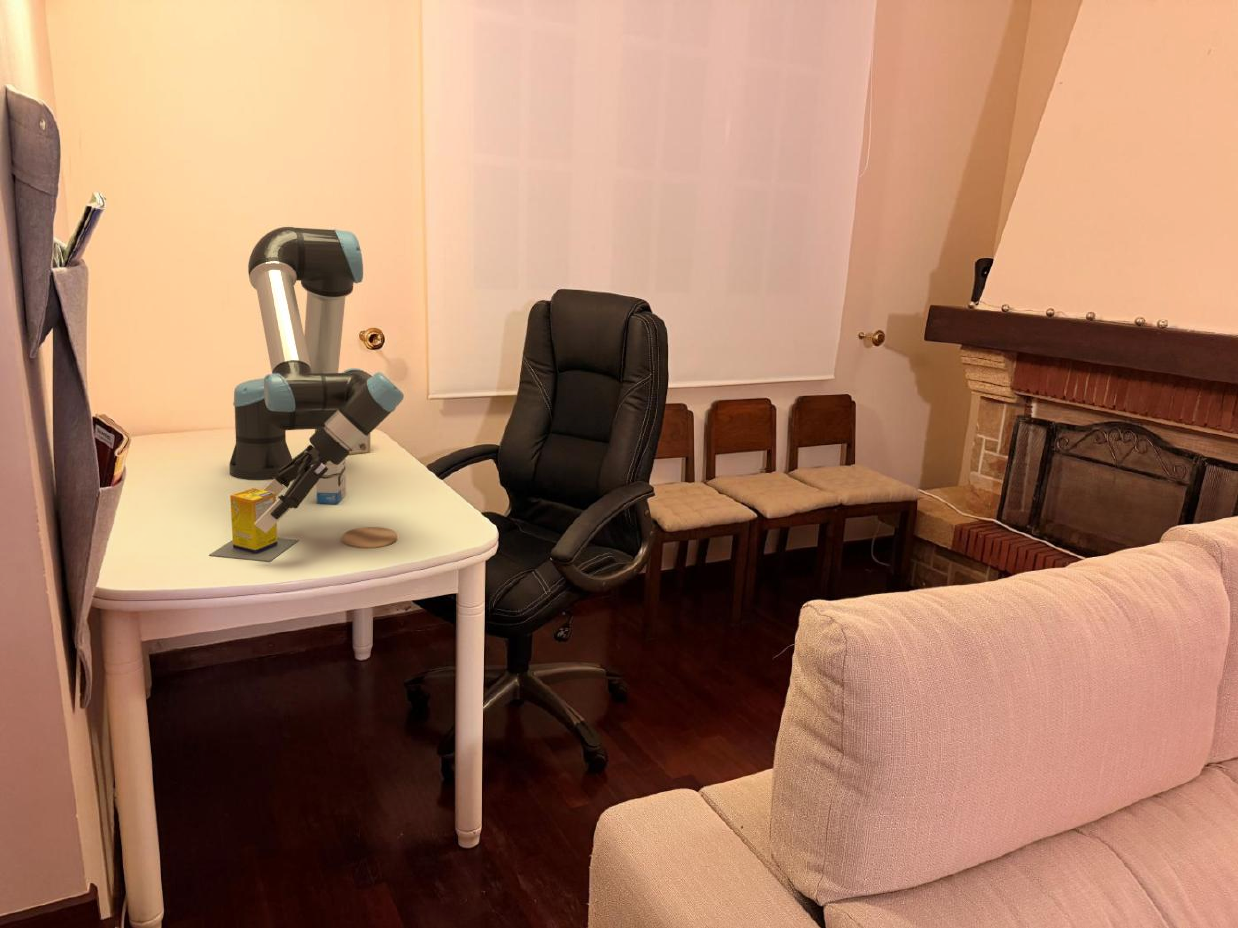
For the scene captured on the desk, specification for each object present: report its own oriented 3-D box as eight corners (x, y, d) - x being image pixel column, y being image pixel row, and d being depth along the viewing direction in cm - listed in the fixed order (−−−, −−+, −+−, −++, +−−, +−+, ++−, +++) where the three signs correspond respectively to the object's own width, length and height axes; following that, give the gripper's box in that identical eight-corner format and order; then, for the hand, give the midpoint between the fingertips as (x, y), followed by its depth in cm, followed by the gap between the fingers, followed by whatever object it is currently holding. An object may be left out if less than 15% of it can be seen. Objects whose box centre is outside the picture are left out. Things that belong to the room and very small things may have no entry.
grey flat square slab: (241, 535, 176) (241, 533, 176) (298, 540, 175) (298, 539, 175) (209, 555, 164) (209, 554, 164) (270, 561, 163) (270, 560, 163)
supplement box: (255, 539, 173) (252, 487, 170) (278, 545, 171) (276, 492, 168) (231, 548, 168) (229, 494, 165) (255, 554, 166) (253, 499, 163)
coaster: (354, 527, 184) (354, 524, 184) (404, 532, 184) (404, 529, 183) (333, 545, 174) (333, 542, 174) (386, 550, 173) (386, 547, 173)
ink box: (338, 505, 198) (337, 455, 195) (315, 504, 198) (314, 454, 195) (346, 494, 206) (346, 446, 203) (325, 493, 206) (324, 445, 203)
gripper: (361, 467, 161) (278, 550, 158) (342, 436, 183) (268, 509, 180) (331, 440, 157) (245, 525, 155) (315, 412, 179) (239, 486, 176)
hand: (257, 517), depth 167 cm, fingers open, 13 cm apart
